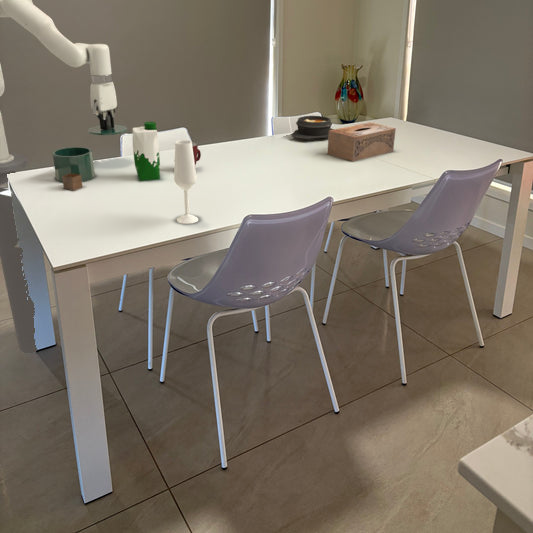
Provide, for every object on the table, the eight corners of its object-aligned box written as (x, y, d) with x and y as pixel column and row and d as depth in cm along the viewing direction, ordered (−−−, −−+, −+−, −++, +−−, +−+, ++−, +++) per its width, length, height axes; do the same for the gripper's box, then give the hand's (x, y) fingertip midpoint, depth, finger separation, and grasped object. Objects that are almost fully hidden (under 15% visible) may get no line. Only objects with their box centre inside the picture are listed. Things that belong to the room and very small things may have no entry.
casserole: (313, 145, 263) (314, 126, 259) (281, 138, 274) (281, 120, 270) (345, 135, 280) (346, 117, 276) (313, 129, 291) (314, 112, 287)
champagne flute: (199, 215, 184) (196, 139, 173) (197, 223, 178) (194, 145, 167) (177, 215, 183) (173, 139, 173) (175, 223, 177) (170, 145, 167)
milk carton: (162, 179, 215) (158, 125, 207) (137, 182, 213) (132, 126, 204) (158, 173, 223) (155, 120, 214) (134, 175, 220) (129, 121, 212)
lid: (80, 133, 225) (77, 117, 222) (105, 126, 237) (103, 110, 234) (110, 138, 219) (108, 121, 217) (135, 130, 231) (133, 113, 228)
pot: (48, 179, 215) (44, 153, 211) (74, 169, 226) (71, 145, 222) (77, 184, 209) (73, 158, 205) (102, 174, 220) (99, 149, 216)
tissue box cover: (352, 161, 240) (354, 137, 235) (327, 154, 250) (328, 130, 245) (393, 151, 255) (395, 128, 250) (367, 144, 265) (369, 122, 260)
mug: (191, 164, 234) (189, 139, 229) (206, 167, 230) (206, 142, 225) (173, 170, 226) (171, 145, 221) (189, 174, 222) (188, 148, 217)
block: (63, 188, 206) (62, 176, 204) (72, 185, 209) (71, 172, 207) (73, 190, 204) (71, 178, 202) (82, 187, 207) (81, 174, 205)
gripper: (108, 75, 228) (113, 123, 236) (78, 81, 214) (85, 131, 223) (123, 77, 225) (128, 125, 233) (95, 83, 212) (101, 134, 220)
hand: (107, 128), depth 228 cm, fingers closed on lid, 3 cm apart
